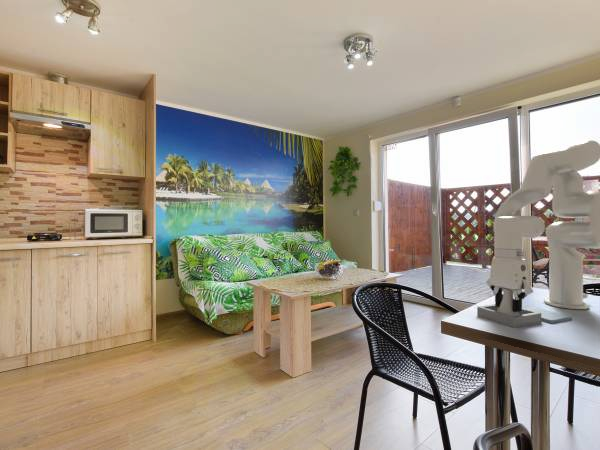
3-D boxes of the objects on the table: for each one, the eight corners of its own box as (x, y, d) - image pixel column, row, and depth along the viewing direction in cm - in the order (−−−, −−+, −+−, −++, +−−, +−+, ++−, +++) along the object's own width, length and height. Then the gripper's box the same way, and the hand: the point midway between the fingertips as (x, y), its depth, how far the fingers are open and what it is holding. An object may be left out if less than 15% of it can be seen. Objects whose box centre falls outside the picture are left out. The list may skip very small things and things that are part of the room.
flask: (526, 323, 93) (526, 291, 93) (501, 321, 95) (501, 290, 95) (514, 315, 101) (514, 286, 100) (491, 314, 102) (491, 285, 102)
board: (538, 310, 106) (538, 308, 106) (571, 319, 96) (571, 316, 96) (518, 314, 102) (518, 311, 102) (551, 323, 93) (551, 320, 93)
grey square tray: (503, 311, 106) (503, 302, 106) (541, 322, 94) (541, 313, 94) (477, 315, 102) (477, 306, 101) (513, 327, 90) (514, 317, 90)
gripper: (544, 256, 91) (544, 315, 91) (491, 250, 107) (491, 301, 107) (527, 257, 88) (527, 318, 88) (476, 251, 104) (476, 303, 104)
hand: (508, 308), depth 98 cm, fingers closed on flask, 5 cm apart
